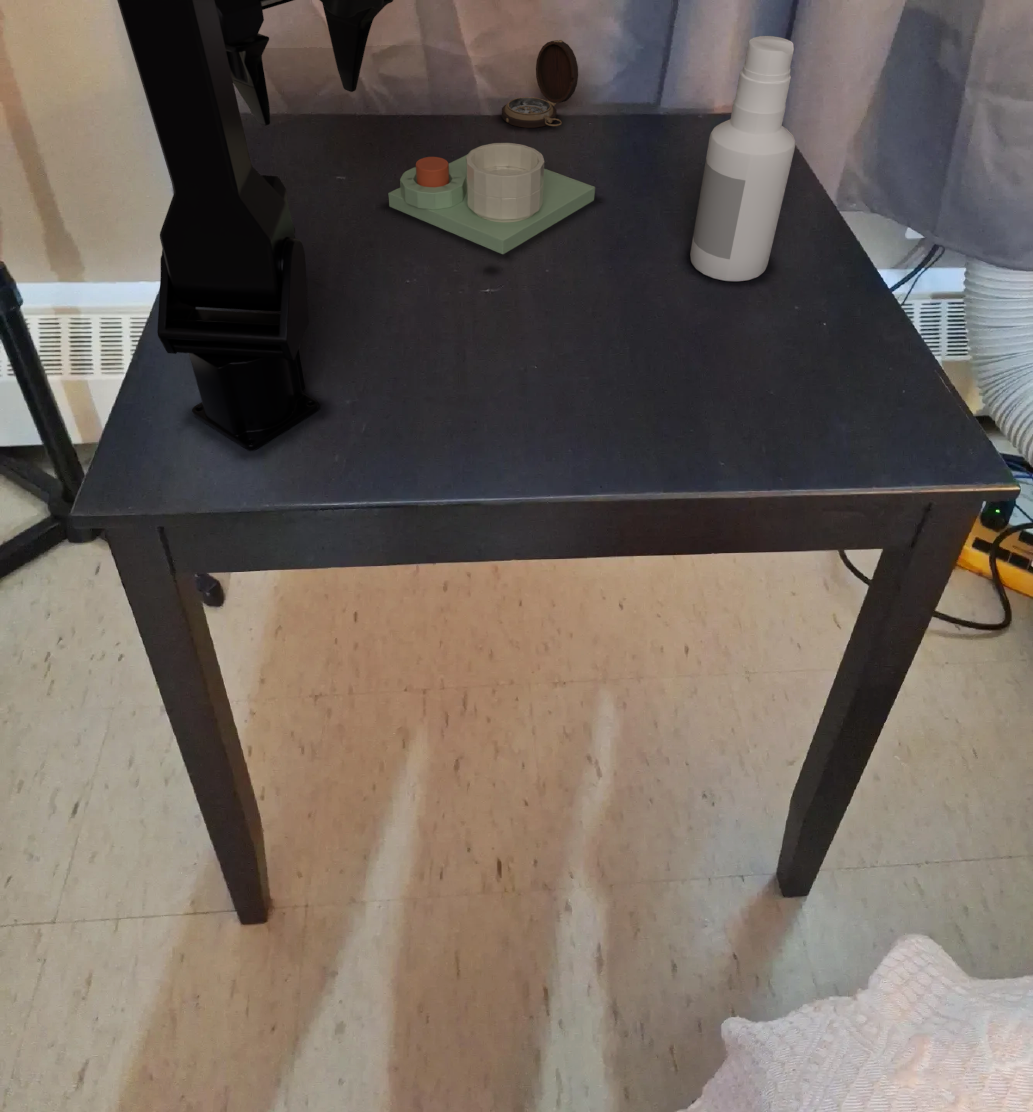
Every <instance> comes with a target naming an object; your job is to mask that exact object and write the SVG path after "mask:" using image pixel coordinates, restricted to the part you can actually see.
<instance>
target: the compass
mask: <svg viewBox="0 0 1033 1112" xmlns="http://www.w3.org/2000/svg"><path fill="white" fill-rule="evenodd" d="M535 63H536V64H535V78H536V81H537V86H538V88H539V91H540V93H541V95H543V97H544V99H543V98H540V97H536V96H535V97H534V96H521V97H516V98H513V99H511V100H509V102H507V103H506V104H504V105H503V106H502V107H501V118H502V120H503V121H504V122H505V123H507V124H509V125H511V126H513V127H517V128H523V129H524V128H525V129H537V128H538V129H539V128H542V127H546V126H550V127H559V126H561V125H562V124H563V122H562V120H561V119H559V118H557V115H558V113H557V111H558V110H557V109H556V107H555V106H556V104H557V105H558V104H560V103H565V102H567V101H568V100H570V99H571V98H572V96H573V95H574V93H575V91H576V89H577V86H578V80H579V65H578V61H577V57H576V55H575V53H574V50H573V49H572V47H570V45H569V44H568V43H567V42H565V41H564V40H563V39H559V40H558V39H557V40H551V41H547V42H546V43H545V44H544V45H542V46H541V49H540V50H539V52H538V54H537V57H536V62H535ZM545 99H546V100H545ZM555 121H558V122H560V123H556V124H553V123H554V122H555Z"/></svg>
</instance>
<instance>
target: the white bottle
mask: <svg viewBox="0 0 1033 1112" xmlns="http://www.w3.org/2000/svg"><path fill="white" fill-rule="evenodd" d="M794 47H795V45H794V42H793V41H791V40H789V39H787V38H784V37H780V36H773V35H760V36H759V35H758V36H754V37H752V38H750V39H749V41H748V43H747V47H746V54H745V60H744V63H743V64H742V65H743V66H742V69H741V70H740V71H739V76H738V82H737V85H736V93H735V97H734V100H733V102H732V103H733V104H732V109H731V114H730V118H729V119H727V120H725V121H722V122H721V123H719V124H717V125H715V126H714V128H712V131H711V132H710V134H709V138H708V145H707V149H706V150H707V152H706V157H705V161H704V168H703V174H702V180H701V187H700V192H699V198H698V204H697V211H696V217H695V221H694V222H695V223H694V228H693V229H694V230H693V234H692V241H691V247H690V254H689V256H690V263H691V264H692V266H693V267H694V268H695V270H696V271H698V272H700V273H701V274H702V275H705V276H707V277H709V278H712V279H715V280H720V281H725V282H744V281H750V280H754V279H756V278H758V277H760V276H761V275H762V274H763V273H764V272H765V271H766V270H767V267H768V265H769V260H770V255H771V252H772V248H773V243H774V240H775V236H776V235H775V234H776V230H777V226H778V222H779V218H780V213H781V209H782V205H783V201H784V197H785V193H786V188H787V183H788V179H789V175H790V170H791V166H792V162H793V157H794V153H795V149H796V140H795V137H794V135H793V133H791V132H790V131H789V130H788V129H787V128H786V127H785V126H784V125H783V122H784V117H785V112H786V109H787V105H786V103H787V100H788V99H787V97H788V94H789V89H790V85H791V79H792V76H791V71H792V69H791V65H792V60H793V56H794V51H795V49H794Z"/></svg>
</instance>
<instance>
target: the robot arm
mask: <svg viewBox="0 0 1033 1112" xmlns="http://www.w3.org/2000/svg"><path fill="white" fill-rule="evenodd" d="M116 1H117V5H118V8H119V11H120V14H121V18H122V22H123V24H124V28H125V32H126V34H127V38H128V42H129V45H130V48H131V52H132V55H133V58H134V62H135V64H136V69H137V72H138V75H139V78H140V82H141V85H142V88H143V91H144V95H145V98H146V102H147V105H148V108H149V112H150V114H151V119H152V122H153V126H154V128H155V131H156V136H157V139H158V142H159V146H160V148H161V152H162V155H163V159H164V162H165V165H166V169H167V172H168V175H169V178H170V182H171V186H172V190H173V195H172V198H171V200H170V202H169V203H170V204H169V206H168V209H167V211H166V214H165V217H164V220H163V223H162V226H161V229H160V232H159V240H160V244H161V249H162V250H161V256H160V259H159V260H160V279H159V281H160V282H159V295H158V296H159V298H158V311H157V313H158V314H157V315H158V316H157V331H156V332H157V333H156V334H157V337H158V339H159V341H160V342H161V345H162V346H163V348H164V349H165V351H166V353H167V354H175V355H176V354H178V353H179V354H180V353H181V354H188V356H189V360H190V363H191V367H192V370H193V374H194V377H195V378H194V379H195V381H196V385H197V389H198V393H199V396H200V400H201V402H200V403H197V404H196V405H194V407H192V409H191V412H192V415H193V417H194V418H196V419H197V420H199V421H200V422H202V423H204V425H205V424H206V425H207V426H208V427H210V428H212V429H213V430H214V431H216V432H218V433H220V434H221V435H223V436H224V437H225V438H227V439H229V440H230V441H232V442H234V443H235V444H237V445H239V446H240V447H241V448H243V449H245V450H247V451H255V450H257V449H258V448H260V447H262V446H264V445H265V444H267V443H268V442H269V441H271V440H273V439H274V438H276V437H277V436H279V435H281V434H282V433H284V432H285V431H287V430H289V429H290V428H291V427H293V426H295V425H297V424H298V423H300V422H301V421H303V420H304V419H306V418H307V417H309V416H311V415H312V414H314V413H315V412H317V411H318V410H319V403H318V401H317V400H316V399H314V398H313V397H311V396H309V395H307V394H305V393H304V391H305V390H306V381H305V374H304V368H303V363H302V358H301V352H300V347H301V344H302V343H303V342H302V341H303V340H304V336H305V334H306V332H307V329H308V326H309V324H310V317H309V316H310V315H309V301H308V300H309V299H308V298H309V297H308V282H307V281H308V280H307V279H308V278H307V264H306V263H307V262H306V261H307V260H306V254H305V248H304V245H303V242H302V240H301V239H299V238H296V228H295V225H294V223H293V220H292V216H291V212H290V205H289V199H288V191H287V188H286V186H285V185H284V183H283V182H282V180H281V178H280V177H279V176H277V175H263V174H260V173H259V172H258V171H257V169H256V168H255V167H254V166H253V164H252V161H251V157H250V152H249V148H248V144H247V140H246V134H245V130H244V126H243V121H242V116H241V111H240V108H239V103H238V99H237V98H238V97H237V93H236V90H237V91H238V93H239V95H240V96H241V98H242V99H243V101H244V103H245V104H246V106H247V108H248V109H249V111H250V112H251V114H252V115H253V117H254V119H255V120H256V121H257V123H258V124H260V125H263V126H266V127H267V126H269V125H270V124H271V113H270V111H271V108H270V100H269V95H268V94H269V93H268V89H267V88H268V87H267V82H266V76H265V69H264V63H263V54H264V52H265V49H266V47H267V46H268V43H269V41H270V36H268V35H265V34H261V33H259V32H260V30H261V28H262V25H263V23H264V21H265V18H264V17H265V16H264V10H267V9H270V8H273V7H276V6H280V5H284V4H287V3H291V2H293V1H295V0H116ZM319 2H321V3H322V8H323V12H324V16H325V20H326V25H327V29H328V34H329V38H330V42H331V47H332V51H333V56H334V59H335V64H336V69H337V72H338V76H339V78H340V81H341V84H342V88H343V89H344V91H347V92H350V93H353V92H356V90H357V86H358V81H359V77H360V74H361V70H362V64H363V60H364V55H365V50H366V46H367V42H368V38H369V34H370V31H371V28H372V25H373V22H374V19H375V18H376V16H377V15H378V14H379V13H380V12H381V11H382V10H383V9H385V7H386V6H387V5H389V4H392V3H393V2H394V0H319ZM235 88H236V90H235ZM203 308H204V309H203ZM205 308H207V309H205ZM218 309H222V310H218ZM223 309H224V310H223ZM226 309H227V310H226ZM237 310H239V311H237ZM241 310H244V311H241ZM274 312H275V313H274ZM276 312H278V313H276Z"/></svg>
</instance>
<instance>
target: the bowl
mask: <svg viewBox="0 0 1033 1112" xmlns="http://www.w3.org/2000/svg"><path fill="white" fill-rule="evenodd" d="M466 155H467V156H466ZM466 155H465V156H466V179H467V180H466V182H467V204H468V207H469V208H470V209H471V210H472V211H473V212H475V213H476V214H477V215H478V216H480V217H481V218H483V219H486V220H490V221H494V222H517V221H522V220H525V219H527V218H529V217H531V216H532V215H534V214H535V213H536V212H537V211H539V209H540V208H541V206H542V204H543V183H544V169H545V159H544V155H543V154H542V153H541V152H540V151H538V150H537V149H536V148H534V147H530V146H527V145H525V144H519V143H514V142H513V143H512V142H493V143H488V144H483V145H480V146H478V147H476V148H475V147H474V148H473V149H471V150H470V151H469V152H468V154H466Z"/></svg>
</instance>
